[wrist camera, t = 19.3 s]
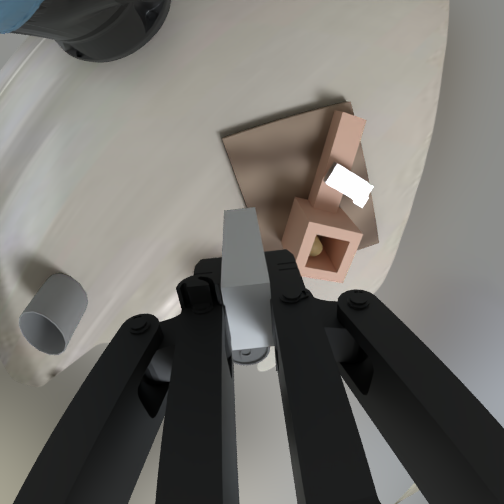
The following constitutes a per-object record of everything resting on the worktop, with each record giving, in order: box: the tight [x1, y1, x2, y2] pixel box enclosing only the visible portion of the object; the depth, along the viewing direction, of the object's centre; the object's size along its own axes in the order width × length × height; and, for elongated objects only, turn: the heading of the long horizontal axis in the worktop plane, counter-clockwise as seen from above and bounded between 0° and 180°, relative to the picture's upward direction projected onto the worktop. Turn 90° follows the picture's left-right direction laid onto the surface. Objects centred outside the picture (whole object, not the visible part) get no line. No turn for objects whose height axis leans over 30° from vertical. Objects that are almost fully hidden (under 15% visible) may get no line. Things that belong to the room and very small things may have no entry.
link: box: [281, 110, 366, 283], centre depth 35 cm, size 18×6×8 cm, turn 166°
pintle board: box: [222, 101, 379, 256], centre depth 37 cm, size 20×16×8 cm
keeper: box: [323, 162, 374, 207], centre depth 36 cm, size 3×5×7 cm, turn 62°
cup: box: [19, 273, 88, 355], centre depth 41 cm, size 8×8×10 cm
